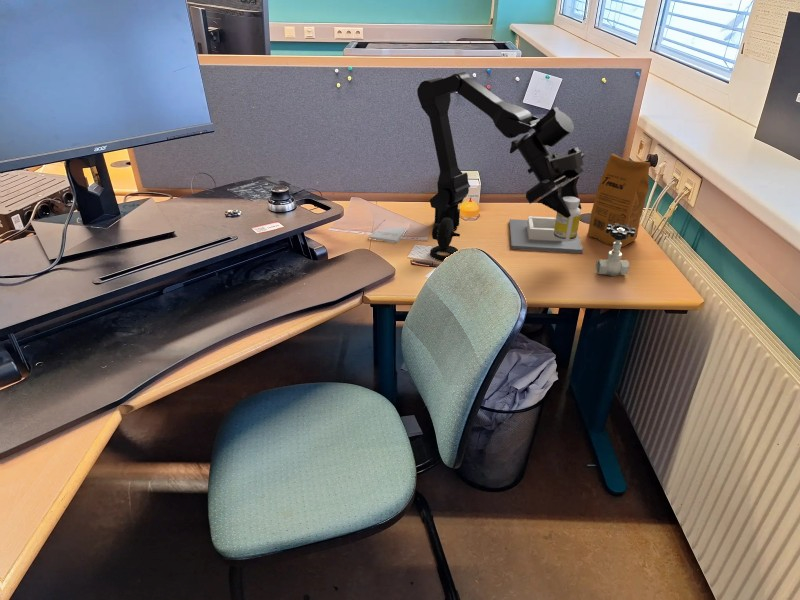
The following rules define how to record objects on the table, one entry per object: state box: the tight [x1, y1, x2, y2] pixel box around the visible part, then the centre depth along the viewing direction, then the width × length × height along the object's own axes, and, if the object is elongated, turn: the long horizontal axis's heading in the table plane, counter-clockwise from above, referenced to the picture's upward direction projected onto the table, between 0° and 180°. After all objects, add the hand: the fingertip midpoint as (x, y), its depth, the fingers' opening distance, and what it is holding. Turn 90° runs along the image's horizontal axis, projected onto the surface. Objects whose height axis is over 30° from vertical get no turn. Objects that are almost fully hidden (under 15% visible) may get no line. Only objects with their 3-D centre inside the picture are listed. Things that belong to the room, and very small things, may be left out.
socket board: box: [509, 215, 584, 254], centre depth 148 cm, size 18×18×4 cm
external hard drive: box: [368, 227, 407, 244], centre depth 152 cm, size 2×8×12 cm
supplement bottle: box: [554, 196, 582, 242], centre depth 130 cm, size 5×5×10 cm
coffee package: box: [587, 153, 652, 248], centre depth 143 cm, size 10×12×22 cm
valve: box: [595, 223, 636, 277], centre depth 127 cm, size 7×7×12 cm
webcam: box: [429, 218, 461, 262], centre depth 137 cm, size 8×8×10 cm
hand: (574, 213), depth 129 cm, fingers closed on supplement bottle, 5 cm apart
